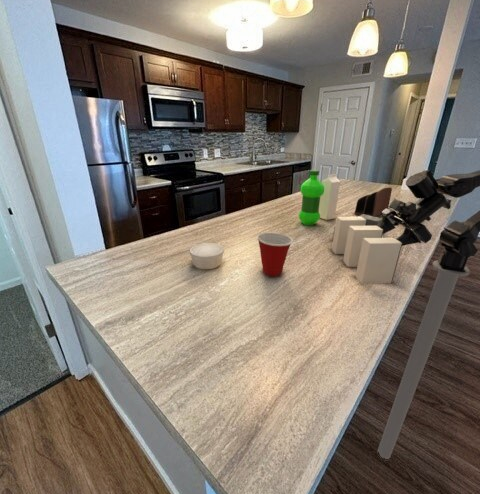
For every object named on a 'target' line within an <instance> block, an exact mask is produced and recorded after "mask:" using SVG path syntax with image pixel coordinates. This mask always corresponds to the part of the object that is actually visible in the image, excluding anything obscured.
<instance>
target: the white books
mask: <svg viewBox="0 0 480 494" xmlns="http://www.w3.org/2000/svg"><path fill="white" fill-rule="evenodd" d="M335 218H336V219H335V223H334V224H335V225H334V227H335V231H334V230H333V233H334V237H333V236H332V240H333V241H332V245H331V251H332V252H333V253H334V254H335V255H344V254H345V248H346V242H347V236H348V231H349V226H366V222H367V220H366V219H365V218H363V217H358V216H336V217H335ZM402 247H403V246H402V242H400V241H399V240H397V238H395V237H382V238H363V242H362V247H361V252H360V257H359V262H358V267H356V272H355V278H356V279H357V281H358V282H359V283H360V284H361V285H373V284H393V281H394V277H395V273H396V271H397V266H398V261H399V258H400V255H401V252H402Z"/></svg>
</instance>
